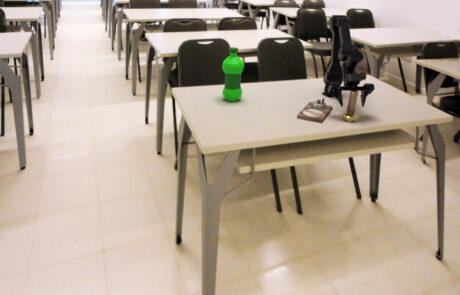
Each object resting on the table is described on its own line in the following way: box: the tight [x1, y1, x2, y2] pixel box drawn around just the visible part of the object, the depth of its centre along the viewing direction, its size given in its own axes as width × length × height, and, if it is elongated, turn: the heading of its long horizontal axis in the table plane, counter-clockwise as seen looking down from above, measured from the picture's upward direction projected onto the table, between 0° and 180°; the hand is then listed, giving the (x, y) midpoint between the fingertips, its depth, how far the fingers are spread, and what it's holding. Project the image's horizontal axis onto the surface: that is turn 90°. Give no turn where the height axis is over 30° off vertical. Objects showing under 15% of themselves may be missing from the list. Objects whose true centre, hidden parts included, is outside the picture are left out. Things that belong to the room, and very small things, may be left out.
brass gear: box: [340, 90, 359, 124], centre depth 161 cm, size 7×7×13 cm
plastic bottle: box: [221, 46, 245, 102], centre depth 178 cm, size 10×10×25 cm
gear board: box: [296, 98, 333, 124], centre depth 168 cm, size 20×11×6 cm, turn 153°
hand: (352, 106), depth 159 cm, fingers open, 9 cm apart
